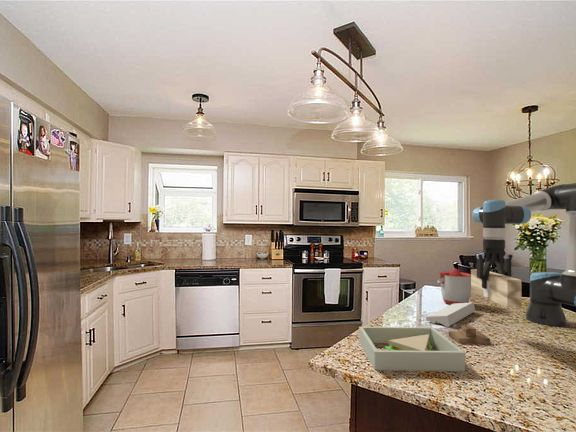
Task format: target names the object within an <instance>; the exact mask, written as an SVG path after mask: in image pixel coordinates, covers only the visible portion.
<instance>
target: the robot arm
mask: <svg viewBox="0 0 576 432" xmlns="http://www.w3.org/2000/svg"><path fill="white" fill-rule="evenodd" d="M547 210H548V211H549V210H565V213H566V214H567V215H568V216H569V225H568V227H569V228H568V239H567V240H568V242H567V254H566V255H567V257H566V269H565V270H564V271H563V272H562V273H560V272H555V271H554V272H552V271H550V272H548V271H546V272H543V271H542V272H532V273H531V274H530V276H529V304H528V307H527V309H526V312H525V319H526V320H527V321H530V322H531V323H535V324H540V325H544V326H545V325H546V326H552V327H565V326H568V325H567V321H568V320H567V318H566V315H565V311H564V309H563V307H562V304H564V305H568V306H569V305H570V306H573V307H576V182H574V183H563V184H557V185H553V186H550V187H547V188H544V189H540V190H537V191H534V192H533V193H532V194H530V195H525V196H523V197H522V196H521V197H519V198H514V199H511V200H506V201H505V200H503V199H490V200H489V199H488V200H485V201H484V202H483V204H482V206H479V207H475V208H474V209H473V211H472V213H471V216H472V220H473V221H474V222H475V223H478V224H482V237H483V239H482V247H483V250H482V252H480V253H475V259H476V269H477V278H479V279H481V280H482V288H484V296H485V297H488V298H490V281H488V276H489V273H490V271H491V269H492V265H493V264H495V265H496V268H497V272H498V274H502V275H505V276H509V277H512V260H513V256H514V255H513V254H510V253H506V251H505V249H506V240H505V238H506V225H522V224H523V225H524V224H527V223H529V221H530V220H531V219H532V212H536V211H540V212H542V211H543V212H544V211H547Z"/></svg>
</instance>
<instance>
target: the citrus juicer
mask: <svg viewBox="0 0 576 432" xmlns="http://www.w3.org/2000/svg"><path fill="white" fill-rule="evenodd" d="M439 275H440V276H439V277H440V278H439V279H437V283H438V284H439V283H440V291H441V295H442V296H441V297H442V300H443V302H444V303H445V304H448V305H451V304H455V303H470V297H471V293H472V292H471V273H467V272H460V270H459V269H458V268H453V269H452V270H451V271H441V272H440V273H439Z"/></svg>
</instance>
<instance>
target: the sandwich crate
mask: <svg viewBox="0 0 576 432" xmlns="http://www.w3.org/2000/svg"><path fill="white" fill-rule="evenodd" d="M427 334H429V341H430V344H431V345H432V346H433V348H434V349H436V350H430V351H404V350H389V349H388V350H386V349H385V350H382V349H379V350H378V349H377V347H376V346H375V344H388V340H393V339H400V338H407V337H413V336H420V335H427ZM358 342H359V344H360V347H361V348H362V350H363V352H364V353H365V356H366V357H367V359H368V360H369V361H368V362H370V364H371V366H372V368H373V370H374V371H410V372H411V371H413V372H414V371H416V372H417V371H419V372H423V371H424V372H426V371H429V372H466V351H465V350H463V349H462V348H460V347H459V346H457V345H456V344H455V343H453V342H452V341H451V340H450V339H448V338H447V337H446V336H444V335H443V334H442V333H440V332H439V331H438V330H437V329H436V328H434V327H433V326H431V327H429V326H423V327H422V326H358Z"/></svg>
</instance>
